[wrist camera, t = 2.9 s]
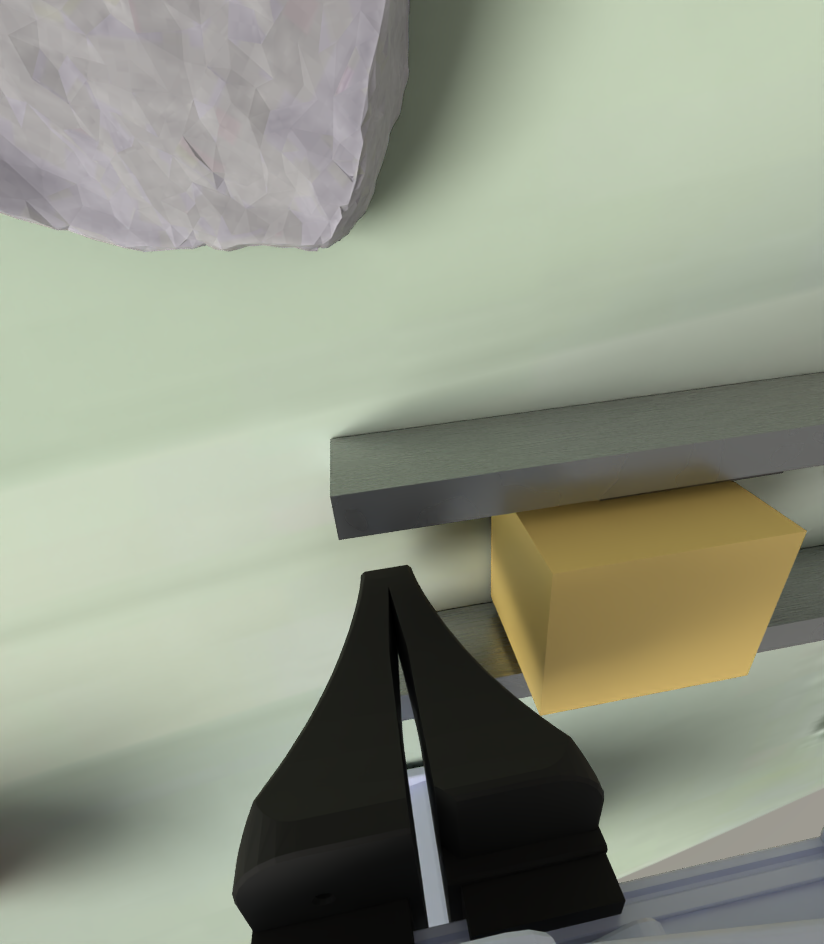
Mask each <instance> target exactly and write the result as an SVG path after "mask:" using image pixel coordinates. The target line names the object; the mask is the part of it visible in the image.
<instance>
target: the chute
mask: <svg viewBox="0 0 824 944" xmlns="http://www.w3.org/2000/svg"><path fill="white" fill-rule="evenodd" d="M819 465H824V372H821V373H814V374H807V375H799V376H792V377H784V378H777V379H770V380H762V381H755V382H748V383H740V384H733V385H725V386H718V387H711V388H703V389H696V390H689V391H681V392H674V393H666V394H659V395H652V396H644V397H637V398H630V399H622V400H615V401H607V402H600V403H593V404H585V405H578V406H571V407H563V408H556V409H548V410H541V411H534V412H526V413H519V414H512V415H504V416H497V417H489V418H482V419H475V420H467V421H460V422H453V423H445V424H438V425H430V426H423V427H416V428H408V429H401V430H394V431H386V432H379V433H371V434H364V435H357V436H349V437H342V438H335V439H330V498H331V503H332V508H333V513H334V518H335V523H336V528H337V533H338V538H339V540H342V539H348V538H355V537H361V536H368V535H374V534H381V533H387V532H393V531H400V530H406V529H413V528H419V527H426V526H432V525H439V524H445V523H452V522H458V521H464V520H471V519H477V518H484V517H490V516H497V515H503V514H510V513H516V512H523V511H529V510H535V509H542V508H548V507H555V506H561V505H568V504H574V503H581V502H587V501H594V500H599V501H604V500H611V499H617V498H624V497H630V496H637V495H643V494H649V493H656V492H662V491H669V490H675V489H682V488H688V487H695V486H701V485H707V484H714V483H720V482H727V481H733V480H740V479H746V478H753V477H759V476H765V475H772V474H778V473H783V471H787V470H794V469H800V468H807V467H813V466H819ZM437 614H438V615H439V616H440V618H441V619H442V621H443V622H444V623H445V625H446V626H447V627H448V628H449V630H450V631H451V632H452V633H453V635H454V636H455V637H456V638H457V640H458V641H459V642H460V643H461V644H462V645H463V647H464V648H465V649H466V650H467V651H468V652H469V653H470V654H471V655H472V656H473V657H474V658H475V659H476V661H477V662H478V663H479V664H480V665H481V666H482V667H483V668H484V669H485V670H486V671H487V672H488V673H490V674H491V675H492V676H493V677H494V678H495V679H496V680H497V681H498V682H499V683H501V684H502V685H503V686H504V687H505V688H506V689H507V690H509V691H510V692H511V693H512V694H513V695H514V696H515V697H517V698H524V697H529V696H532V695H531V692H530V690H529V688H528V685H527V683H526V680H525V678H524V675H523V673H522V671H521V668H520V666H519V663H518V661H517V658H516V656H515V654H514V651H513V649H512V646H511V644H510V641H509V639H508V637H507V634H506V632H505V629H504V627H503V624H502V622H501V620H500V617H499V615H498V612H497V610H496V607H495V605H494V603H493V602H491V603H485V604H480V605H474V606H468V607H462V608H456V609H450V610H445V611H439V612H437ZM821 640H824V545H823V546H817V547H812V548H806V549H800V550H799V552H798V554H797V556H796V559H795V561H794V564H793V566H792V568H791V571H790V573H789V576H788V578H787V581H786V583H785V585H784V588H783V590H782V593H781V595H780V597H779V600H778V602H777V605H776V607H775V609H774V612H773V614H772V617H771V619H770V622H769V624H768V626H767V629H766V631H765V634H764V636H763V638H762V641H761V643H760V646H759V648H758V650H757V653H759V652H764V651H769V650H774V649H779V648H785V647H790V646H795V645H800V644H806V643H811V642H816V641H821ZM398 659H399V655H398ZM399 677H400V696H401V715H402V721H403V720H409V719H414V715H413V711H412V707H411V703H410V699H409V695H408V691H407V687H406V683H405V679H404V675H403V671H402V667H401V663H400V659H399Z"/></svg>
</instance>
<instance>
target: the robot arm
mask: <svg viewBox="0 0 824 944" xmlns="http://www.w3.org/2000/svg"><path fill="white" fill-rule="evenodd" d="M398 655H399V659H400V663H401V667H402V671H403V675H404V679H405V683H406V687H407V691H408V695H409V699H410V703H411V707H412V711H413V715H414V719H415V723H416V727H417V731H418V736H419V741H420V746H421V752H422V758H423V764H424V766H422V767H417V768H412V769H407V767H406V759H405V752H404V743H403V732H402V715H401V696H400V677H399V659H398ZM603 802H604V791H603V789H602V787H601V785H600V782H599V780H598V778H597V777H596V775H595V773H594V771H593V770H592V768H591V766H590V765H589V763H588V761H587V760H586V758H585V757H584V755H583V754H582V752H581V751H580V749H579V748H578V747H577V745H576V744H575V742H574V741H573V740H572V738H571V737H570V736H568V735H567V734H565V733H564V732H562V731H561V730H559V729H558V728H556V727H555V726H553V725H552V724H551V723H549V722H548V721H546V720H545V719H544V718H542V717H541V716H540V715H538V714H537V713H536V712H534V711H533V710H532V709H530V708H529V707H528V706H527V705H525V704H524V703H523V702H521V701H520V700H519V699H518V698H517V697H515V696H514V695H513V694H512V693H511V692H510V691H509V690H507V689H506V688H505V687H504V686H503V685H502V684H501V683H499V682H498V681H497V680H496V679H495V678H494V677H493V676H492V675H491V674H490V673H488V672H487V671H486V670H485V669H484V668H483V667H482V666H481V665H480V664H479V663H478V662H477V661H476V659H475V658H474V657H473V656H472V655H471V654H470V653H469V652H468V651H467V650H466V649H465V648H464V647H463V645H462V644H461V643H460V642H459V641H458V640H457V638H456V637H455V636H454V635H453V633H452V632H451V631H450V630H449V628H448V627H447V626H446V625H445V623H444V622H443V621H442V619H441V618H440V616H439V615H438V614H437V612H436V611H435V609H434V608H433V607H432V605H431V604H430V602H429V601H428V599H427V597H426V596H425V594H424V592H423V591H422V589H421V587H420V586H419V584H418V582H417V580H416V578H415V576H414V574H413V571H412V569H411V567H409V566H408V565H404V566H397V567H391V568H385V569H379V570H373V571H367V572H364V573H363V574H362V575H361V583H360V590H359V595H358V600H357V604H356V608H355V612H354V615H353V619H352V622H351V625H350V629H349V632H348V635H347V638H346V640H345V643H344V646H343V648H342V651H341V654H340V656H339V659H338V661H337V664H336V666H335V668H334V671H333V673H332V675H331V677H330V680H329V682H328V684H327V686H326V688H325V690H324V692H323V694H322V696H321V698H320V700H319V702H318V703H317V705H316V707H315V709H314V711H313V713H312V715H311V716H310V718H309V720H308V722H307V723H306V725H305V727H304V728H303V730H302V732H301V733H300V735H299V736H298V738H297V740H296V741H295V743H294V744H293V746H292V747H291V749H290V751H289V752H288V754H287V755H286V757H285V758H284V760H283V761H282V763H281V764H280V766H279V767H278V768H277V770H276V771H275V772H274V774H273V775H272V777H271V778H270V779H269V781H268V782H267V783H266V785H265V786H264V788H263V789H262V790H261V792H260V793H259V794H258V796H257V797H256V798H255V800H254V801H253V804H252V807H251V810H250V813H249V816H248V819H247V822H246V825H245V828H244V832H243V835H242V839H241V844H240V847H239V852H238V857H237V863H236V870H235V877H234V885H233V892H232V895H233V899H234V902H235V904H236V906H237V907H238V909H239V910H240V912H241V913H242V915H243V916H244V918H245V920H246V921H247V923H248V924H249V926H250V927H251V929H252V930H253V932H252V941H251V944H824V827H823V829H822V831H821V836H819V837H815V838H811V839H806V840H802V841H798V842H794V843H789V844H785V845H781V846H776V847H772V848H768V849H764V850H760V851H755V852H751V853H747V854H742V855H738V856H734V857H730V858H725V859H721V860H717V861H713V862H708V863H704V864H699V865H695V866H691V867H687V868H682V869H678V870H674V871H670V872H665V873H661V874H657V875H653V876H648V877H644V878H640V879H635V880H631V881H627V882H623V883H618V881H617V879H616V876H615V874H614V871H613V869H612V867H611V864H610V862H609V860H608V857H607V855H606V853H607V850H608V849H607V845H606V842H605V840H604V837H603V835H602V833H601V831H600V828H599V826H598V824H599V820H600V816H601V811H602V807H603Z"/></svg>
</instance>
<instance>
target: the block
mask: <svg viewBox="0 0 824 944" xmlns="http://www.w3.org/2000/svg"><path fill="white" fill-rule="evenodd" d="M806 532H807V531H806V530H805V529H803V528H802V527H800V526H799V525H797V524H796V523H794V522H793V521H791V520H790V519H788V518H787V517H785V516H784V515H783V514H781V513H780V512H778V511H777V510H775V509H774V508H772V507H771V506H769V505H768V504H766V503H765V502H763V501H762V500H760V499H759V498H757V497H756V496H755V495H753V494H752V493H750V492H749V491H747V490H746V489H744V488H743V487H741V486H740V485H738V484H737V483H735V482H734V481H727V482H720V483H714V484H707V485H701V486H695V487H688V488H682V489H675V490H669V491H662V492H656V493H649V494H643V495H637V496H630V497H624V498H617V499H611V500H604V501H599V500H594V501H587V502H581V503H574V504H568V505H561V506H555V507H548V508H542V509H535V510H529V511H523V512H516V513H510V514H503V515H497V516H491V598H492V600H493V603H494V605H495V607H496V610H497V612H498V615H499V617H500V620H501V622H502V624H503V627H504V629H505V632H506V634H507V637H508V639H509V641H510V644H511V646H512V649H513V651H514V654H515V656H516V658H517V661H518V663H519V666H520V668H521V671H522V673H523V675H524V678H525V680H526V683H527V685H528V688H529V690H530V692H531V695H532V697H533V700H534V702H535V704H536V707H537V709H538V712H539V714H540V716H542V715H547V714H552V713H557V712H562V711H567V710H572V709H577V708H582V707H587V706H593V705H598V704H603V703H608V702H613V701H618V700H623V699H628V698H633V697H639V696H644V695H649V694H654V693H659V692H664V691H669V690H674V689H679V688H685V687H690V686H695V685H700V684H705V683H710V682H715V681H720V680H725V679H731V678H736V677H741V676H746V675H748V672H749V670H750V667H751V665H752V662H753V660H754V658H755V655H756V653H757V650H758V648H759V646H760V643H761V641H762V638H763V636H764V634H765V631H766V629H767V626H768V624H769V622H770V619H771V617H772V614H773V612H774V609H775V607H776V605H777V602H778V600H779V597H780V595H781V593H782V590H783V588H784V585H785V583H786V581H787V578H788V576H789V573H790V571H791V568H792V566H793V564H794V561H795V559H796V556H797V554H798V552H799V549H800V547H801V544H802V542H803V540H804V537H805V535H806Z"/></svg>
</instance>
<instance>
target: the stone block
mask: <svg viewBox="0 0 824 944" xmlns="http://www.w3.org/2000/svg"><path fill="white" fill-rule="evenodd" d="M409 13H410V0H0V213H2V214H5V215H8V216H11V217H14V218H17V219H20V220H24V221H28V222H32V223H35V224H39V225H43V226H46V227H49V228H53V229H56V230H69V231H72V232H74V233H77V234H80V235H83V236H85V237H88V238H91V239H94V240H98V241H102V242H106V243H109V244H113V245H116V246H120V247H123V248H128V249H133V250H138V251H143V252H145V251H161V250H172V249H193V248H197V247H201V246H205V245H208V246H210V247H212V248H214V249H217V250H224V251H233V250H237V249H240V248H244V247H247V246H258V245H266V246H274V247H281V248H288V247H294V248H298V249H302V250H306V251H317V250H318V248H319V247H321V248H328V247H330V246H331V245H333V244H334V243H336V242H337V241H340V240H341V239H342V238H343V237H345V236H346V235H348V234H349V232H350V230H351V229H352V228H353V226H354V225H355V223H356V222H357V221H358V220H359V219H360V218H361V217H362V216H363V215H364V214H365V212H366V210H367V208H368V206H369V203H370V201H371V199H372V196H373V194H374V191H375V185H376V179H377V177H378V174H379V172H380V169H381V166H382V163H383V160H384V157H385V154H386V150H387V147H388V144H389V135H390V132H391V130H392V127H393V125H394V124H395V122H396V120H397V119H398V117H399V115H400V112H401V106H402V100H403V94H404V91H405V88H406V85H407V82H408V79H409V67H408V50H409Z"/></svg>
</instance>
